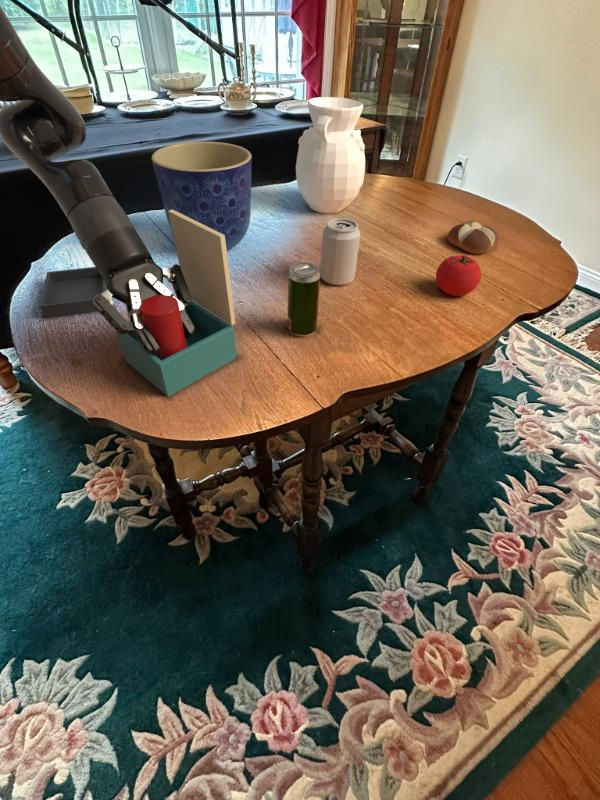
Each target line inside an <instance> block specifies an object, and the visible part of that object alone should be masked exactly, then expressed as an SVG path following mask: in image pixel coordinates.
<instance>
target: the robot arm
mask: <svg viewBox="0 0 600 800" xmlns="http://www.w3.org/2000/svg"><path fill="white" fill-rule="evenodd" d="M0 102H4V103H10V102H11V103H12V102H15V103H12V104H10V105H8V106H5V107H4V108H1V110H0V139H1V140H2V142H3V143H4V145H5V146H6V147H7V148H8V150H9V151H11V153H12V154H14V156H16V158H18V159H19V160H20V161H21V162H22V163H23V164H24V165H25V166H26V167H28V169H29V170H31V171H32V172H33V174H35V175H36V176H37V177H38V179H39V180H40V181H41V182H42V184H44V186H45V187H46V188H47V189H48V191H49V192H50V193H51V195H52V196H53V197H54V199H55V201H56V203H58V206H59V207H60V209H61V211H62V212H63V213H64V215H65V216H66V218H67V220H68V222H69V223H70V225H71V228H72V231H73V232H74V234H75V236H76V238H77V239H78V241H79V244H80V246H81V248H82V249H83V251H85V253H86V254H87V255H88V257H89V259H90V261H91V262H92V263H93V266H94V267H96V268H97V270H98V272H99V273H100V275H101V276H102V278H103V280H104V281H105V282H106V285H107V290H106V291H105V292H103V293H102V294H96V295H95V297H94V299H93V302H92V305H93V306H94V307H95V308H96V309H97V310H98V312H97V313H99V314H100V315H101V316H102V317H103V319H105V320H106V321H107V322H108V324H110V325H111V327H112V328H113V329H114V330H115V332H116V331H117V332H118V333H119V334H121V335H124V334H125V333H133V334H135V335H136V336H137V338H138V339H139V341H140V343H141V344H142V346H143V348H144V349H145V351H147V352H148V353H149V352H151V353H152V354H153V355H155V354H157V353H158V352H159V351H160V347H159V346H158V344H157V343H156V341H155V339H154V338H153V336H152V334H151V333H150V331H149V330H148V328H147V327H146V328H145V327H144V323H143V317H142V313H141V310H140V305H141V303H142V302H143V301H144V300H145V299H147V298H149V297H152V296H156V295H169V296H172V297H174V298H176V299H177V301H178V304H179V309H180V314H181V319H182V324H183V329H184V334H185V337H186V338H189V337H191V336H192V335H193V334H194V331H193V330H194V325H193V323H192V322H191V320H190V318H189V317H188V315H187V313H186V312H185V307H186V306H187V305H188V304H189V303H190V302H191V300H192V297H191V295H190V292H189V289H188V286H187V284H186V281H185V278H184V276H183V273H182V270H181V267H180V265H179V264H178V263H175V264H173V265H172V266H171V267H165V268H162V267H161V266H159V265H158V264H157V263H156V262H155V261H154V259H153V257H152V255H151V253H150V251H149V250H148V248H147V246H146V244H145V242H144V241H143V240H142V239H143V238H141V236H140V235H139V233H138V231H137V229H136V228H135V226H134V225H133V223H132V221H131V220H130V218H129V216H128V214H127V212H126V211H125V209H123V207H122V206H121V205H120V204H119V202H118V201H117V199H116V197H115V196H114V194H113V193H112V191H111V190H110V188H109V186H108V185H107V182H106V181H105V179H104V178H103V176H102V175H101V173H100V171H99V169H98V168H97V167H96V166H95V164H93V162H91V161H89V160H86V159H70V160H64V161H52V160H55V159H57V158H60V157H61V156H63V155H66V154H67V153H69V152H72V151H74V150H76V149H78V148H80V147H81V146H83V144H84V143H85V141H86V137H87V127H86V124H85V121H84V119H83V117H82V115H81V113H80V112H79V110H78V109H77V107H76V106H75V105H74V104H73V102H72V101H71V100H70V99H69V98H68V97H67V96H66V95H65V94H64V93H63V92H62V91H61V90H60V89H59V88H58V87H57V86H56V85H55V84H54V83H53V82H52V81H51V80H50V79H49V78H48V77H47V76H46V75H45V73H44V72H43V71H42V70H41V68H40V67H39V66H38V64H37V63H36V62H35V60H34V59H33V57H32V56H31V55H30V53H29V51H28V49H27V48H26V45H24V43H23V41H22V38H21V37H20V36H19V34H18V33H17V31H16V30H15V27H14V26H13V23H11V21H10V19H9V17H8V16H7V14H6V13H5V11H4V9H3V8H2V6H1V5H0ZM164 278H165V279H166V280H167V282H168V283H170V284H171V285H172V288H173V291H174V293H175V296H176V297H175V296H174V293H173V291H171V290H170V289H168V287H166V286H165V285H164ZM112 298H113V299H115V300H117V301H119V302H121V303H123V304H125V307H126V312H127V318H128V320H129V321H127V319H126V318H124V315H122V314H121V313H120V312H119V311H118V310H117V308H115V307H114V300H113V299H112ZM192 301H193V300H192ZM117 332H116V333H117Z"/></svg>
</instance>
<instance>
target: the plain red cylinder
mask: <svg viewBox="0 0 600 800" xmlns="http://www.w3.org/2000/svg"><path fill="white" fill-rule="evenodd" d="M174 297H175V296H174ZM174 297H172V296H169V295H156V296H152V297H149V298H147V299H145V300H144V301H143V302H142V303H141V305H140V310H141V313H142V317H143V321H144V324H145V328H146V327H147V328H148V330H149V331H150V333H151V334H152V336H153V338H154V339H155V341H156V343H157V344H158V346H159V347H160V351H159V352H158V353H157V354H155V356H156V357H158V358H159V359H160V360H161V361H162V360H164V359H166V358H168V357H170V356H172V355H173V354H175V353H177V352H179V351H181V350H183V349H185V348H187V344H186V339H185V334H184V329H183V324H182V319H181V314H180V309H179V304H178V301H177V299H176V298H177V297H175V298H174Z"/></svg>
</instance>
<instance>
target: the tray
mask: <svg viewBox="0 0 600 800" xmlns="http://www.w3.org/2000/svg"><path fill="white" fill-rule="evenodd" d="M106 290H107V285H106V282H105V281H104V280H103V278H102V276H101V275H100V273H99V272H98V270H97V268H96V267H95V266H90V267H80V268H74V269H73V268H72V269H62V270H53V271H47V272H46V276H45V280H44V285H43V290H42V294H41V299H40V304H39V309H40V310H41V312H42V314H43V317H44V319H51V318H59V317H66V316H74V315H75V316H76V315H81V314H90V313H96V312H97V313H99V312H98V310H97V309H96V308H95V307H94V306H93V305H92V302H93V299H94V297H95V295H96V294H102V293H103V292H105V291H106Z"/></svg>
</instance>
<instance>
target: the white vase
mask: <svg viewBox="0 0 600 800" xmlns="http://www.w3.org/2000/svg"><path fill="white" fill-rule="evenodd" d="M307 107H308V113H309V116H310V119H311V122H312V126H309V128H308V129H304V130H303V133H302V135H301V136H300V137H299V138H298V142H297V144H298V150H297V155H296V163H295V180H296V183H297V187H298V191H299V193H300V194H301V196H302V198H303V200H304V201H305V202H306V204H307V206H308V207H309V208H310V209H311V210H312V211H314V212H316V213H320V214H336V213H339V212H341V211H342V210H344V209H345V208H346V207H348V206H349V205H350V204H351V203H352V202H353V201H354V200H355V198H357V197H358V195H359V193H360V190H361V189H362V187H363V184H364V181H365V180H364V179H365V172H366V156H365V148H366V145H365V143H364V141H363V140H364V139H363V137H362V135H361V132H362V130H361V129H360V128H359V129H354V128H355V127H356V125H357V123H358V121H359V119H360V118H361V117H360V116H361V115H362V113H363V109H364V104H363V103H362V102H361V101H359V100H355V99H353V98H352V99H351V98H346V97H335V96H322V97H321V96H319V97H312V98H310V99H309V100H308V101H307Z"/></svg>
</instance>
